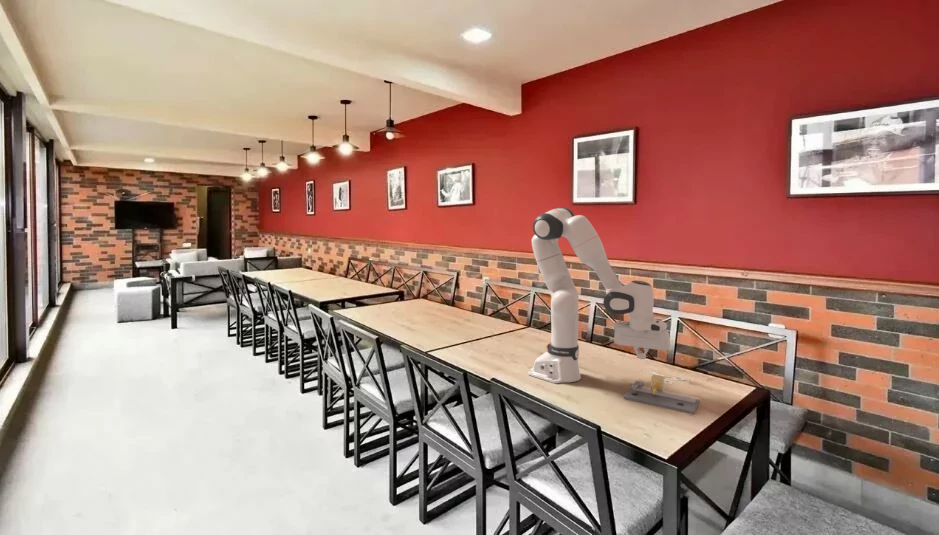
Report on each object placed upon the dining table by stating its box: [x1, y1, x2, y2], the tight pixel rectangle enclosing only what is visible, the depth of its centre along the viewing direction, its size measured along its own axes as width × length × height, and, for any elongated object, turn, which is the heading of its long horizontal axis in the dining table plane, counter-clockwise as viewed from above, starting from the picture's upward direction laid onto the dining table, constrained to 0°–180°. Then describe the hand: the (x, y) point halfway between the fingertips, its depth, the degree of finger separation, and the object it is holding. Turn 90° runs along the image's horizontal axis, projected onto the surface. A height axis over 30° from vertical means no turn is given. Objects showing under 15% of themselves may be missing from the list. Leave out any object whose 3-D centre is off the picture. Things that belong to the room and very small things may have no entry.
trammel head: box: [650, 374, 666, 397], centre depth 169 cm, size 4×7×6 cm, turn 144°
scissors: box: [641, 368, 691, 385], centre depth 193 cm, size 11×1×20 cm
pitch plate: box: [623, 380, 701, 415], centre depth 167 cm, size 24×12×4 cm, turn 55°
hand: (641, 358), depth 173 cm, fingers closed
